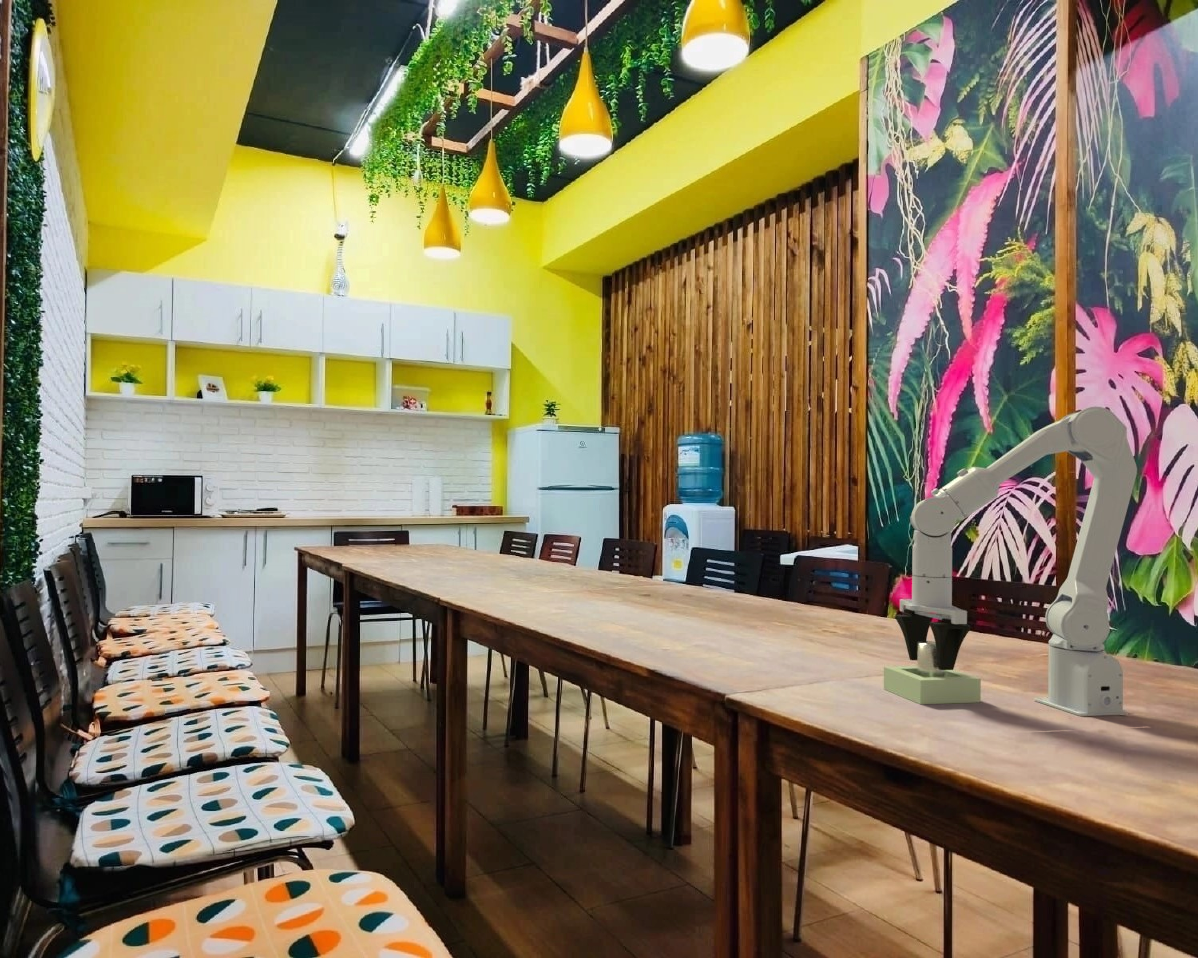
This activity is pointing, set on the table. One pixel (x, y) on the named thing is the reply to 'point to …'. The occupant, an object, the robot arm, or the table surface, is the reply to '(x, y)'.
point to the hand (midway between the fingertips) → (930, 664)
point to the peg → (928, 660)
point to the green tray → (932, 686)
